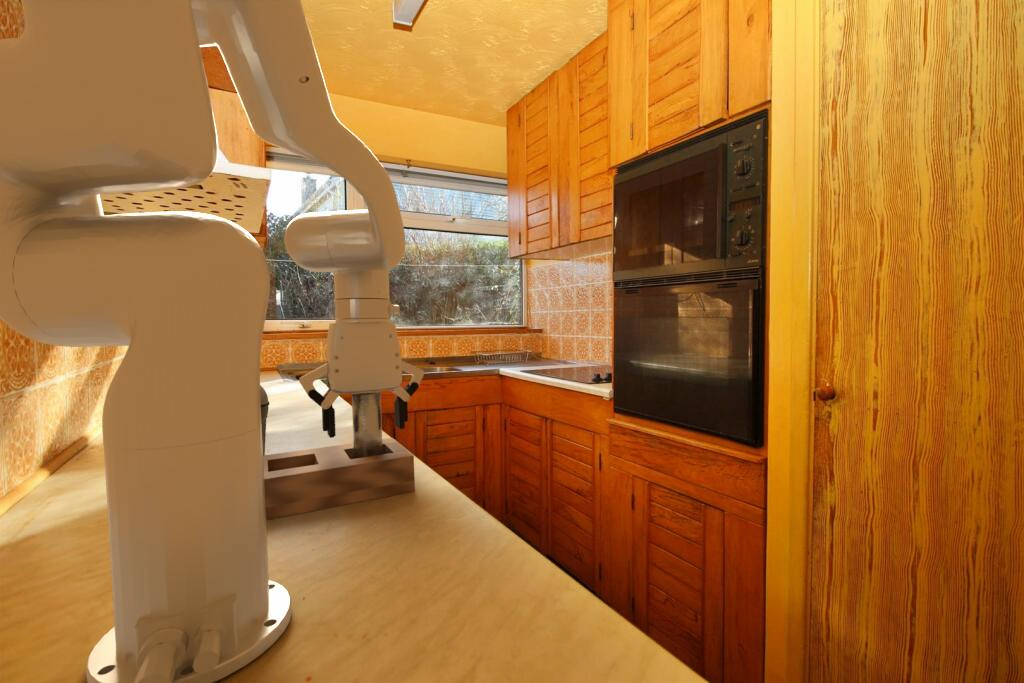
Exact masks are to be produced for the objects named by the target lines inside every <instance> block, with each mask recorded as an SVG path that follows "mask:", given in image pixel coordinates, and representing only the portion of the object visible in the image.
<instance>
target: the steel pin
mask: <svg viewBox="0 0 1024 683" xmlns="http://www.w3.org/2000/svg"><path fill="white" fill-rule="evenodd" d="M381 392H382V391H375V392H363V393H351V406H352V407H351V408H352V410H351V411H352V412H351V413H352V437H353V438H352V439H353V441H352V442H353V445H354V459H356V458H363V457H370V456H376V455H383V451H382V439H383V433H382V432H383V424H382V423H383V420H382V393H381Z"/></svg>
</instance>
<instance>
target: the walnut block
mask: <svg viewBox="0 0 1024 683" xmlns="http://www.w3.org/2000/svg"><path fill="white" fill-rule="evenodd" d="M382 451H383V455H376V456H370V457H363V458H356V459H354V445H353V443H346V444H345V443H344V444H338V445H330V446H323V447H316V448H309V449H308V448H307V449H301V450H295V451H286V452H281V453H279V452H278V453H272V454H267V455H266V454H265V455H264V456H263V465H264V487H265V509H266V521H268V520H272V519H278V518H283V517H287V516H293V515H298V514H304V513H309V512H314V511H318V510H325V509H329V508H334V507H339V506H344V505H351V504H354V503H362V502H364V501H370V500H375V499H376V500H377V499H381V498H386V497H391V496H396V495H402V494H406V493H412V492H415V491H416V485H415V482H416V481H415V458H414V455H413V453H411V452H410V451H409V450H407V449H406V447H404V446H403V445H402V444H401V443H399V441H397V440H396V439H394V438H393V437H389V438H382Z"/></svg>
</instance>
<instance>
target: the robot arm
mask: <svg viewBox="0 0 1024 683" xmlns="http://www.w3.org/2000/svg"><path fill="white" fill-rule="evenodd" d="M20 2H21V7H22V13H23V18H24V19H23V20H24V30H23V32H22V33H21V35H20V36H19V37H12V38H0V319H1V321H2V322H3V323H5V324H6V326H8V327H9V328H11V329H12V330H13V331H15V332H16V333H17V334H19V335H21V336H23V337H25V338H27V339H29V340H32V341H34V342H38V343H40V344H41V343H42V344H45V345H49V346H55V347H71V348H73V347H74V348H83V347H84V348H88V347H89V348H90V347H126V346H128V348H127V351H126V353H125V354H124V356H123V359H122V360H121V362H120V364H119V366H118V368H117V369H116V371H115V373H114V375H113V378H112V379H111V382H110V384H109V386H108V389H107V392H106V394H105V398H104V403H103V408H102V417H101V418H102V419H101V420H102V423H101V424H102V426H101V427H102V442H103V443H102V445H103V453H104V454H103V455H104V471H105V486H106V501H107V502H106V507H107V520H108V522H107V523H108V536H109V537H108V540H109V556H110V558H109V559H110V572H111V587H112V588H111V589H112V605H113V607H112V608H113V620H114V621H113V622H114V627H112V628H111V629H110V630H109V631H107V632H106V633H105V634H104V635H103V636H102V637H101V638H100V639H99V641H97V643H95V645H94V646H93V647H92V650H91V651H90V653H89V655H88V656H87V658H86V664H85V675H86V682H87V683H216V682H218V681H219V680H222V679H224V678H227V677H228V676H230V675H231V674H233V673H235V672H237V671H239V670H240V669H242V668H243V667H245V666H247V665H248V664H250V663H251V662H253V661H254V660H256V659H257V658H259V657H260V656H262V654H263V653H265V651H267V650H268V649H270V648H271V646H273V645H274V644H275V642H277V640H278V639H279V638H280V637H281V635H283V633H284V632H285V630H286V628H287V627H288V625H289V623H290V621H291V616H292V614H293V613H292V598H291V594H290V592H289V591H288V589H287V588H286V587H285V586H283V585H281V584H280V583H278V582H276V581H274V580H273V581H272V580H270V579H269V575H270V574H269V558H268V537H267V536H268V534H267V520H266V509H265V487H264V465H263V443H262V424H261V404H260V385H261V357H262V355H261V354H262V342H263V338H264V337H263V336H264V335H263V334H264V328H265V322H266V318H267V310H268V306H269V299H270V291H271V290H270V287H271V285H270V284H271V282H270V281H271V278H270V277H271V276H270V275H271V274H270V269H269V264H268V259H267V257H266V256H265V253H264V250H263V249H262V247H261V246H260V244H259V243H258V241H257V240H256V239H255V238H254V236H252V234H251V233H249V232H248V231H247V230H246V229H245V228H243V227H242V226H240V225H238V224H236V223H234V222H233V221H231V220H228V219H226V218H223V217H219V216H218V215H213V214H209V213H202V212H194V211H178V210H175V211H154V212H153V211H151V212H130V213H129V212H128V213H126V212H125V213H115V214H114V213H113V214H109V215H108V214H106V215H105V214H104V209H103V206H102V200H101V195H114V194H115V195H116V194H132V193H133V194H134V193H148V192H149V193H150V192H163V191H171V190H177V189H184V188H189V187H192V186H195V185H197V184H201V183H203V182H205V181H206V180H207V179H208V178H210V177H211V176H212V174H213V173H214V171H215V169H216V167H217V163H218V158H219V139H218V133H217V132H218V131H217V125H216V118H215V114H214V109H213V103H212V98H211V94H210V88H209V83H208V78H207V74H206V70H205V63H204V59H203V56H202V55H203V54H202V49H201V48H204V47H217V48H218V50H219V52H220V54H221V56H222V59H223V61H224V64H225V65H226V68H227V71H228V74H229V76H230V78H231V81H232V83H233V86H234V87H235V91H236V92H237V95H238V97H239V100H240V103H241V106H242V108H243V110H244V112H245V114H246V117H247V120H248V122H249V125H250V127H251V129H252V131H253V133H255V135H256V136H257V137H258V138H259V139H261V140H262V141H264V142H265V143H268V144H270V145H273V146H275V147H278V148H280V149H282V150H284V151H288V152H290V153H292V154H296V155H298V156H300V157H303V158H305V159H306V160H307V159H308V160H310V161H312V162H314V163H317V164H319V165H321V166H323V167H325V168H326V169H329V170H331V171H333V173H335V174H337V175H338V176H340V177H341V178H343V179H344V180H345V181H347V183H349V184H350V185H351V186H352V187H353V188H354V189H355V191H356V192H357V193H358V195H359V196H360V198H361V199H362V201H363V202H364V205H365V207H366V209H353V210H350V209H349V210H335V211H318V212H317V211H315V212H314V211H313V212H307V213H303V214H300V215H297V216H296V217H294V218H293V219H292V220H290V222H289V223H288V224H287V226H286V228H285V231H284V246H285V249H286V252H287V254H288V256H289V257H290V259H291V260H292V261H293V262H294V264H296V265H297V266H298V267H300V268H302V269H304V270H305V271H308V272H313V273H333V283H334V288H333V289H334V316H335V317H334V318H335V323H333V322H332V323H329V324H328V330H327V336H326V351H325V352H326V353H325V354H326V356H325V363H324V364H323V365H320V366H318V367H317V368H314V369H313V370H311V371H309V372H308V373H306V374H304V375H302V376H301V377H299V380H298V381H299V383H300V385H301V387H302V388H303V390H304V391H305V393H306V394H307V396H308V397H309V399H311V400H312V401H314V402H315V404H317V405H318V406H320V407H321V416H322V418H321V419H322V420H321V421H322V422H321V423H322V431H323V432H327V436H328V437H329V438H330V439H333V438H335V437H336V436H337V435H336V410H335V408H334V407H333V403H335V402H336V400H337V398H338V397H339V396H340V395H349V394H352V393H363V392H375V391H379V392H383V391H385V392H386V391H391V392H392V393H393V394H394V395H395V396H396V399H395V400H394V401H393V405H394V407H393V408H394V426H395V427H396V428H398V429H400V430H405V429H406V426H405V425H406V423H407V422H408V421H409V419H408V418H409V414H408V410H409V409H408V408H409V407H408V402H409V401H410V400H411V397H412V396H413V395H414V394H415V393H416V391H418V389H419V388H420V387H419V386H420V384H421V381H422V380H423V378H424V375H425V371H424V370H423V369H421V368H419V367H417V366H415V365H413V364H410V363H408V362H407V361H404V360H402V356H401V350H400V342H399V341H400V340H399V337H398V336H399V335H398V331H397V327H396V323H395V322H392V321H391V319H392V316H395V315H400V313H401V312H400V311H401V309H400V305H398V304H393V303H392V301H391V300H390V298H391V297H390V271H389V270H390V269H394V268H395V267H397V266H398V265H399V264H400V263H401V262H402V260H403V259H404V256H405V253H406V247H407V246H406V233H405V228H404V227H405V226H404V224H403V223H404V222H403V218H402V215H401V210H400V206H399V202H398V198H397V194H396V190H395V187H394V184H393V182H392V179H391V178H390V175H389V174H388V172H387V171H386V169H385V167H384V166H383V165H382V163H381V162H380V160H379V159H378V158H377V157H376V156H375V154H374V153H373V151H371V149H370V148H369V147H368V146H367V145H366V144H365V143H364V142H363V141H362V140H361V139H360V138H359V137H358V136H357V135H356V134H354V132H352V131H351V130H349V129H348V128H347V127H346V126H345V125H344V124H343V123H342V122H341V121H340V119H339V118H338V117H337V116H336V114H335V111H334V109H333V105H332V103H331V99H330V96H329V92H328V88H327V85H326V82H325V77H324V75H323V72H322V68H321V64H320V62H319V58H318V54H317V52H316V51H317V50H316V48H315V44H314V42H313V38H312V34H311V30H310V27H309V24H308V21H307V18H306V14H305V10H304V7H303V3H302V0H20ZM403 372H406V373H408V374H410V375H411V378H410V380H409V381H410V382H408V383H407V384H406V386H405V387H403V386H402V383H403ZM324 376H325V381H326V386H327V388H328V389H327V390H326V392H325V393H324V394H323V395H322V394H321V393H320V392H318V390H317V389H316V388H315V386H314V382H315V381H316V380H318V379H321V378H323V377H324Z"/></svg>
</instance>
